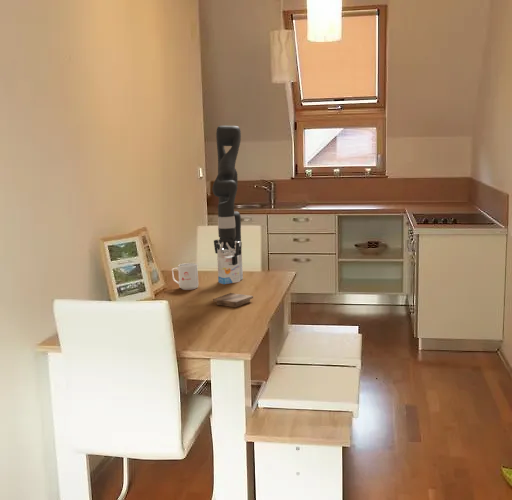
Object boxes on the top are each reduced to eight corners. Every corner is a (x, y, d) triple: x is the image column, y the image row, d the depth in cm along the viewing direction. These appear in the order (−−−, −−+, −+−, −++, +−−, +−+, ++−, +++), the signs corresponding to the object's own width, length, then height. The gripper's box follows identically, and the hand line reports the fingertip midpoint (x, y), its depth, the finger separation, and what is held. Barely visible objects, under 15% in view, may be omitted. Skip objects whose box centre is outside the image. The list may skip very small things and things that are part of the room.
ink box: (224, 284, 294) (222, 251, 291) (218, 282, 298) (216, 249, 295) (240, 281, 298) (239, 248, 296) (234, 279, 303) (233, 247, 300)
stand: (213, 304, 283) (213, 299, 283) (230, 298, 293) (230, 293, 292) (236, 308, 276) (235, 302, 276) (253, 301, 286) (253, 295, 285)
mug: (199, 285, 321) (198, 262, 319) (197, 290, 312) (195, 266, 310) (174, 286, 321) (173, 263, 320) (171, 290, 313) (169, 267, 311)
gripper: (208, 226, 295) (210, 264, 298) (234, 228, 286) (236, 267, 290) (219, 224, 301) (221, 261, 304) (245, 226, 292) (246, 264, 296)
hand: (228, 264), depth 297 cm, fingers closed on ink box, 6 cm apart
